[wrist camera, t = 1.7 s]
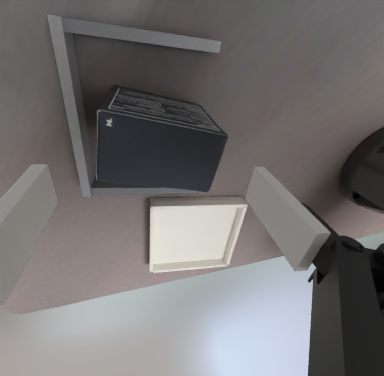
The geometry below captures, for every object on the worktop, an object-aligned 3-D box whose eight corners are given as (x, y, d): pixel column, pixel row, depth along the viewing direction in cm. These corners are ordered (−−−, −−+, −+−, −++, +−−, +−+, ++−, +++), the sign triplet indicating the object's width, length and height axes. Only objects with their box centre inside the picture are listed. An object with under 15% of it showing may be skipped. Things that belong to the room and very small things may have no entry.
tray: (242, 196, 35) (247, 204, 34) (224, 257, 44) (228, 266, 42) (150, 197, 32) (150, 206, 30) (149, 263, 40) (149, 273, 38)
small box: (109, 139, 26) (92, 184, 18) (112, 83, 23) (93, 104, 15) (190, 153, 29) (209, 196, 21) (202, 104, 26) (231, 132, 18)
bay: (214, 41, 23) (222, 41, 20) (194, 184, 32) (198, 195, 30) (58, 18, 20) (46, 14, 17) (87, 184, 29) (82, 197, 27)
